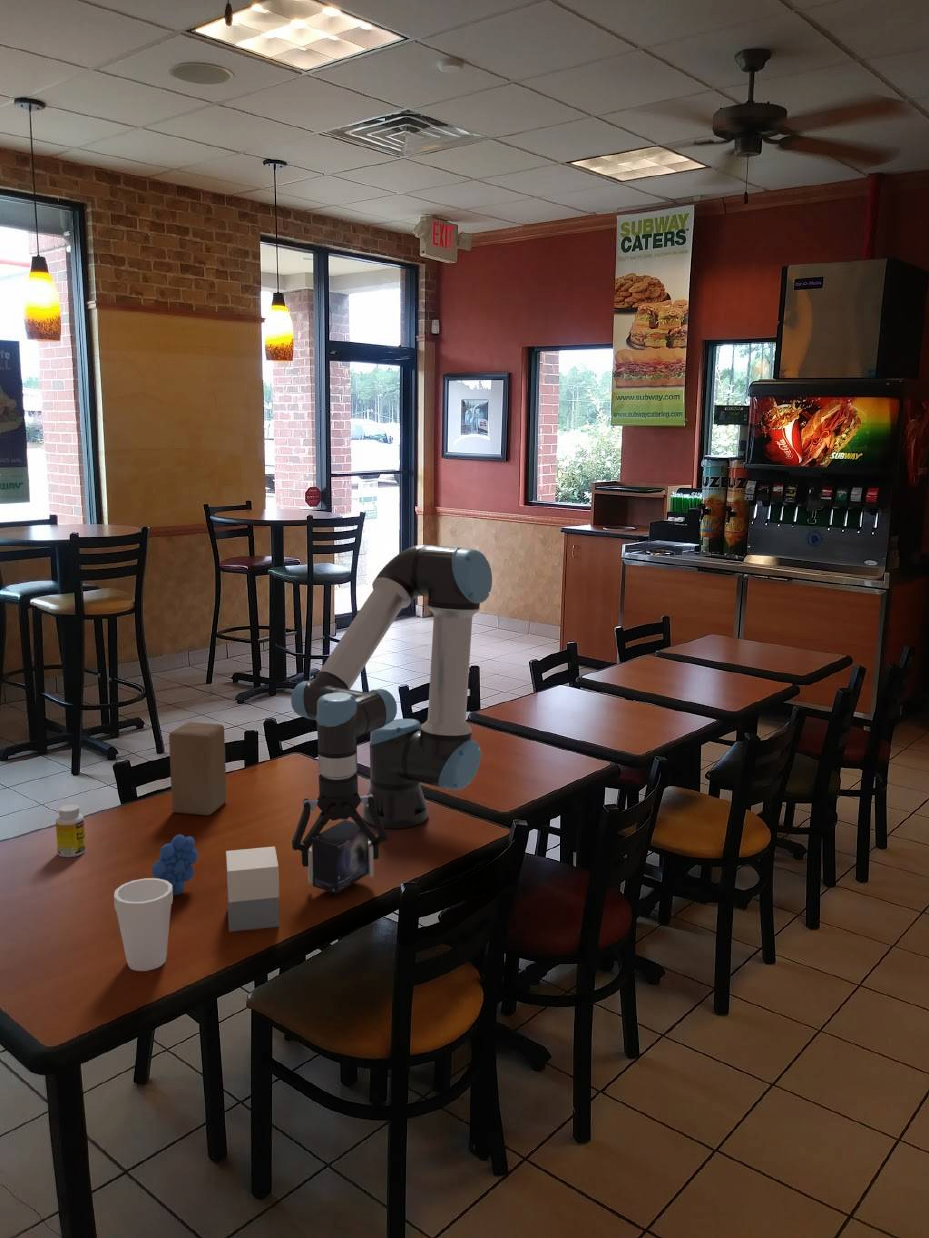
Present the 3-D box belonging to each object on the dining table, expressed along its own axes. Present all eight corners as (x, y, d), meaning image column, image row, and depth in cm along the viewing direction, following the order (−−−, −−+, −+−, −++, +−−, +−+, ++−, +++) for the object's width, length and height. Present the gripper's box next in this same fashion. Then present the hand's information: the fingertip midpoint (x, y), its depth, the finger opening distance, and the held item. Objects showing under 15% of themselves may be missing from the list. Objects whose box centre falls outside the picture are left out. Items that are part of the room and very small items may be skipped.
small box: (337, 895, 190) (336, 844, 188) (311, 887, 194) (309, 837, 192) (370, 874, 199) (369, 825, 197) (345, 866, 203) (343, 818, 200)
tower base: (276, 904, 190) (275, 875, 189) (279, 927, 182) (278, 896, 180) (228, 909, 188) (227, 880, 187) (228, 932, 179) (227, 901, 178)
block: (210, 817, 232) (206, 735, 228) (170, 813, 234) (166, 732, 230) (228, 802, 241) (225, 723, 238) (190, 798, 243) (187, 720, 240)
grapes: (181, 878, 200) (179, 822, 198) (207, 885, 197) (204, 829, 195) (137, 901, 190) (134, 842, 188) (163, 909, 187) (160, 850, 185)
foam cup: (181, 947, 174) (178, 878, 171) (168, 975, 165) (164, 903, 162) (127, 947, 174) (123, 878, 171) (110, 975, 164) (106, 903, 162)
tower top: (275, 875, 189) (274, 846, 188) (279, 897, 180) (278, 866, 179) (227, 880, 187) (226, 850, 186) (228, 902, 178) (227, 871, 177)
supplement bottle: (80, 858, 209) (77, 812, 207) (53, 858, 209) (50, 812, 207) (89, 847, 214) (86, 802, 213) (63, 847, 214) (60, 802, 212)
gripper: (395, 761, 198) (396, 862, 202) (275, 771, 193) (279, 874, 197) (401, 774, 191) (402, 879, 195) (277, 785, 186) (281, 892, 190)
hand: (340, 877), depth 196 cm, fingers closed on small box, 11 cm apart
